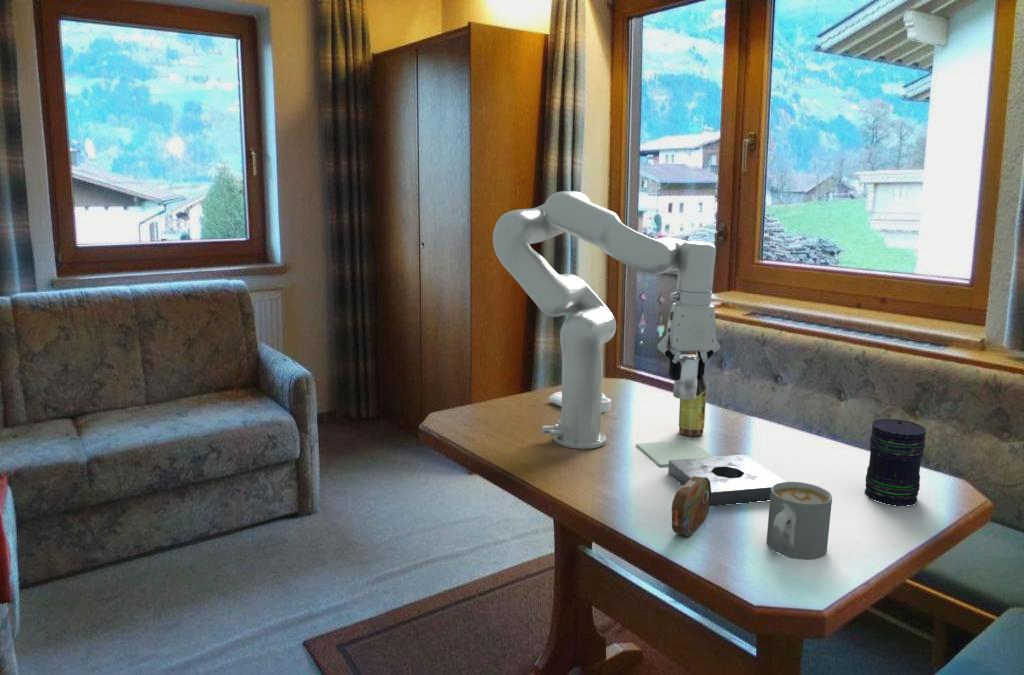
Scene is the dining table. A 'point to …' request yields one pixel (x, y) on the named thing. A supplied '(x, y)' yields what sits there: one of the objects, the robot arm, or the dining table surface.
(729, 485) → the plate
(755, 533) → the dining table surface
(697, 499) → the tin
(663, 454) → the sage mat
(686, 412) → the sauce bottle
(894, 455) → the storage jar
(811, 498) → the coffee mug
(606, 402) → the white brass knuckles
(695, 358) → the aluminium plug
